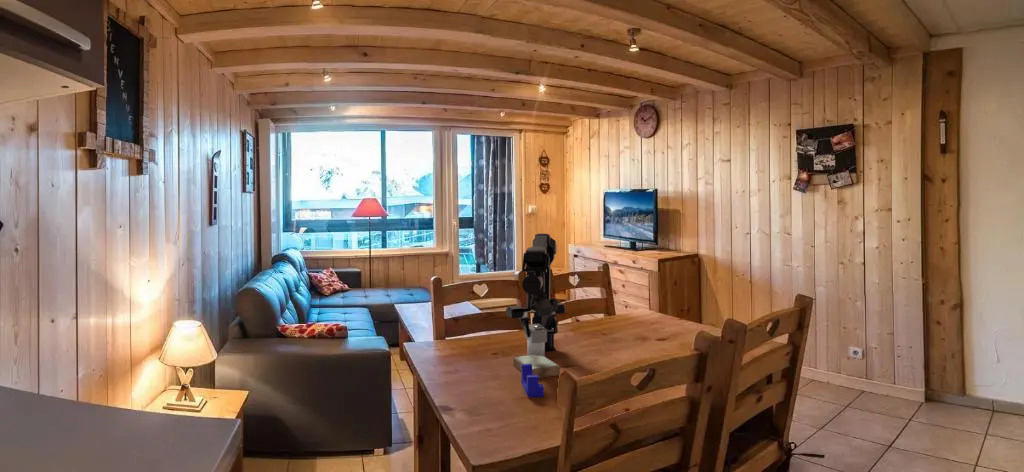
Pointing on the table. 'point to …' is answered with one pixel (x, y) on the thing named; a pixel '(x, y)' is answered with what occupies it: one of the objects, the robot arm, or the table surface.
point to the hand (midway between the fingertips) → (535, 336)
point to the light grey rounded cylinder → (535, 348)
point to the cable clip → (531, 382)
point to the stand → (538, 365)
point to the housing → (537, 333)
